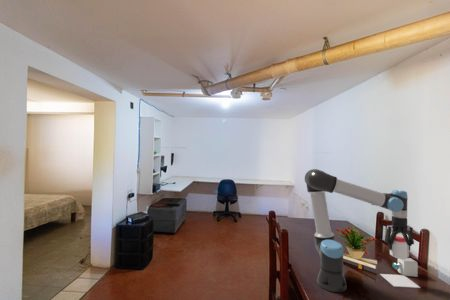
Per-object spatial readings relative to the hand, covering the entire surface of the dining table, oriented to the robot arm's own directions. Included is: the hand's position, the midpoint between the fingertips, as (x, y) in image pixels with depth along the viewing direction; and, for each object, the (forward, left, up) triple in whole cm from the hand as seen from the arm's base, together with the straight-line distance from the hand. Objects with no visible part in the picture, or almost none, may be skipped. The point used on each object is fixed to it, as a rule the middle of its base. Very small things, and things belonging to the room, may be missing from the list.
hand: (399, 255), depth 142 cm
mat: (0, 0, -15) cm, 15 cm away
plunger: (+8, +10, -12) cm, 18 cm away
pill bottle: (0, 0, -1) cm, 1 cm away
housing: (+11, +10, -15) cm, 21 cm away
